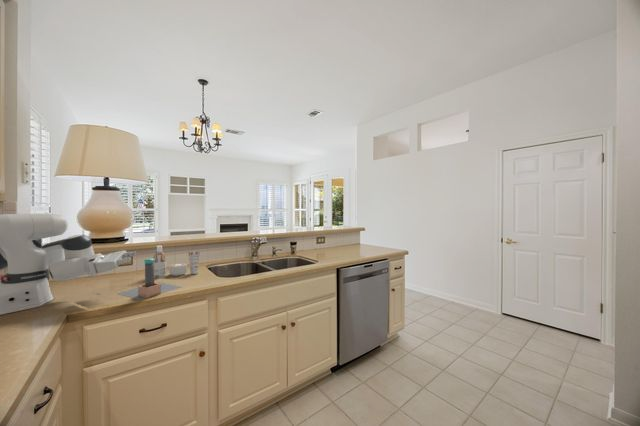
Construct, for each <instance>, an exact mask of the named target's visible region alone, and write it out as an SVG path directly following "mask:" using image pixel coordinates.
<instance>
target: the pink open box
mask: <svg viewBox="0 0 640 426" xmlns="http://www.w3.org/2000/svg"><path fill="white" fill-rule="evenodd" d="M137 288H138V296H141V297H145V298H146V299H148V297H149V298H152V297H155V296H159V295H162V294H161V284H159V283H158V282H154V286H150V287H145V283H144V284H140V285H138V286H137ZM154 295H155V296H154ZM151 296H152V297H151Z"/></svg>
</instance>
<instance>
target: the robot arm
mask: <svg viewBox="0 0 640 426" xmlns="http://www.w3.org/2000/svg"><path fill="white" fill-rule="evenodd" d="M68 227H69V223H68V220H67V219H66V218H65V217H64V216H63V215H61V214H56V213H48V212H47V213H45V212H44V213H5V214H4V213H1V214H0V271H1V270H4V269H6V268H7V273H6V274H0V316H2V315H6V314H10V313H15V312H19V311H24V310H29V309H34V308H38V307H42V306H43V305H45V304H46V303H49V302H51V301H53V300H54V295H52V294H53V293H52V292H51V289H50V284H49V281H50V277H51V279H52V280H54V281H57V282H59V281H65V280H66V281H67V280H72V279H76V278H80V277H83V276H91V277H94V276H98V275H100V274H102V273H106V272H110V271H113V270H115V269H117V268H118V267H119V266H120V265H122V264H125V263H128V262H131V261H132V257H135V256H137V252H136V251H128V252H127V250H119V251H115V252H110V253H108V254H102V253H101V252H99V253H95V250H94V247H93V242H92V237H90V236H88V235H86V234H75V235H72V236H68V237H67V238H63V239H58V240H56V241H51V242H49V243H46V244H44V245H43V244H42V243H43V240H42V239H48V238H53V237H57V236H62V235H63V234H65V233H66V231H67V230H68Z"/></svg>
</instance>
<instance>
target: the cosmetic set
mask: <svg viewBox="0 0 640 426" xmlns="http://www.w3.org/2000/svg"><path fill="white" fill-rule="evenodd" d="M187 253H188V254H187V255H188V259H189V269H190V270H189V272H190V275H197V274H198V273H199V259H200V253H201V250H189V251H187ZM152 259H154V278H163V277H166V276H167V256H166V254H165V253H164V251H163V246H162V245H156V252H155V254H154V256H153V258H152ZM187 265H188V264H187V263H186V262H185V263H183V262H180V263H172V264H170V265H169V266H168V267H169V270H168V271H169V274H170V275H171V276H173V277H175V276H176V277H179V276H184V275H185V274H186V273H187V270H188V266H187Z"/></svg>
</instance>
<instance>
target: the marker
mask: <svg viewBox="0 0 640 426" xmlns="http://www.w3.org/2000/svg"><path fill="white" fill-rule="evenodd" d="M154 283H155V277H154V259H153V258H146V259H144V284H145V287H150V286H154Z"/></svg>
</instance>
